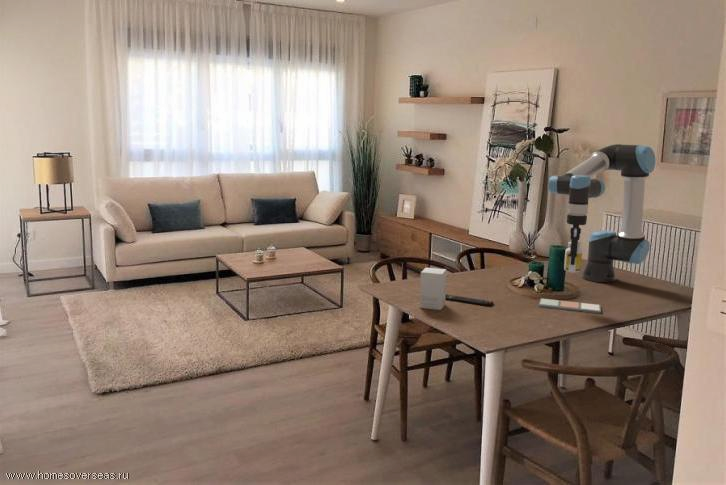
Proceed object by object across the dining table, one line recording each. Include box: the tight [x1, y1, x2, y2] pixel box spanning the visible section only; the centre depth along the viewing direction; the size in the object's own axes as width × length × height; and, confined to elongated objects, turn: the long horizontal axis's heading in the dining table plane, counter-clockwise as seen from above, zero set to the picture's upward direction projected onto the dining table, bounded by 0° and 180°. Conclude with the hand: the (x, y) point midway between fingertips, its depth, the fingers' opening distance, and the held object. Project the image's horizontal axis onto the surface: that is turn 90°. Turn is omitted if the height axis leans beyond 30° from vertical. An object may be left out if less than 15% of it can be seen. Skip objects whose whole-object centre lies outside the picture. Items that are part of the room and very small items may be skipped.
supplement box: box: [419, 267, 447, 311], centre depth 258 cm, size 9×9×15 cm
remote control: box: [445, 294, 494, 308], centre depth 267 cm, size 5×24×1 cm, turn 64°
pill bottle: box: [563, 241, 583, 273], centre depth 259 cm, size 6×6×12 cm
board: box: [538, 297, 602, 315], centre depth 262 cm, size 10×24×1 cm, turn 71°
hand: (572, 270), depth 260 cm, fingers closed on pill bottle, 6 cm apart
